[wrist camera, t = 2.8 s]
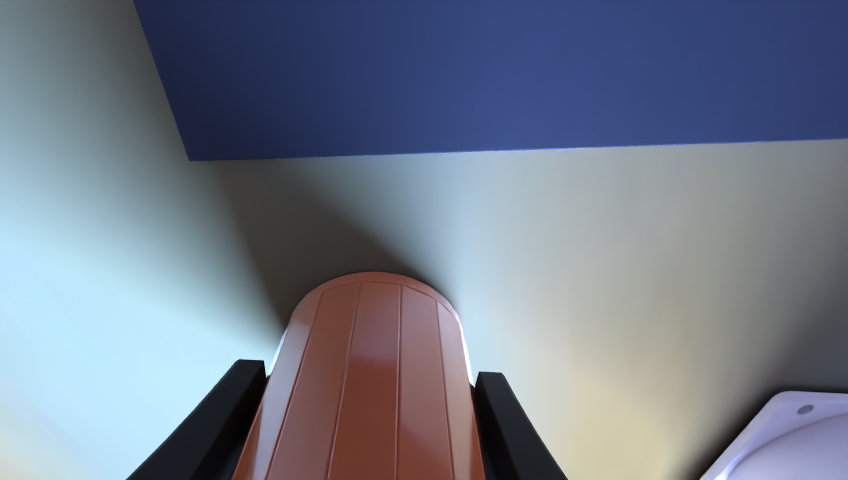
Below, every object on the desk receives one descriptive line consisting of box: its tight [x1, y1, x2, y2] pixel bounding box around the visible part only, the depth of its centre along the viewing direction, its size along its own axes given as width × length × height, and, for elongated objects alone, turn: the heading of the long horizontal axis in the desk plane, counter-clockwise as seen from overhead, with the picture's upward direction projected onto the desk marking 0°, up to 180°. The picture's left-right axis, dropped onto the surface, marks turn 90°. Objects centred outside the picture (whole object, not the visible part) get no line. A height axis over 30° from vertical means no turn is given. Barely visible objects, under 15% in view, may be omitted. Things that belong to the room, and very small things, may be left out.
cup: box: [227, 272, 490, 480], centre depth 9 cm, size 5×5×6 cm
